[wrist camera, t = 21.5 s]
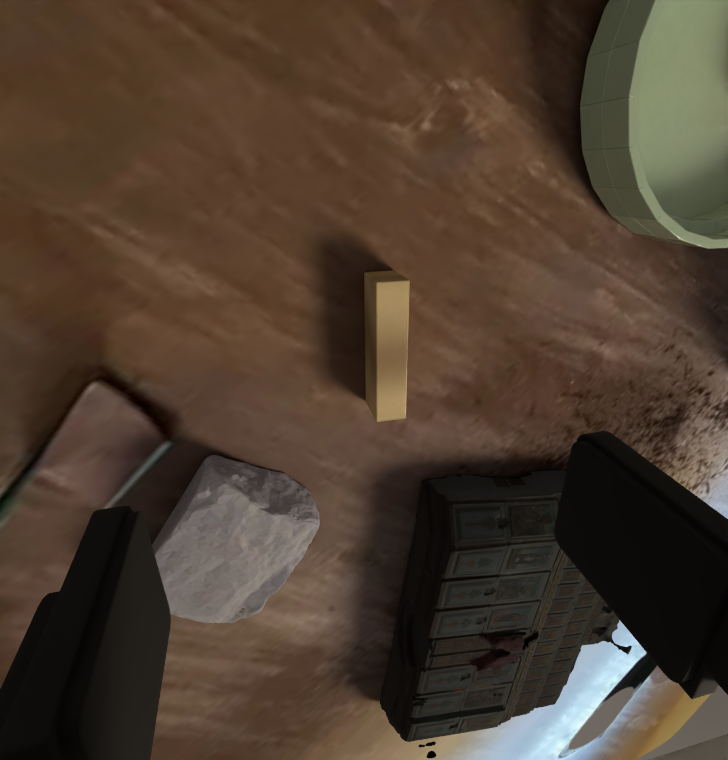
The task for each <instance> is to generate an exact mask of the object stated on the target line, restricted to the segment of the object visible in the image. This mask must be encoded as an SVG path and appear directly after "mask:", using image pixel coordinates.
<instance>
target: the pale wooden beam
mask: <svg viewBox="0 0 728 760" xmlns="http://www.w3.org/2000/svg"><path fill="white" fill-rule="evenodd" d="M409 285H410V281H409V280H408V279H407V278H405V277H404V276H402V275H401V274H399V273H398V272H396V271H394V270H393V271H376V272H365V273H364V304H365V380H366V403H367V405H368V407H369V408H370V410H371V412H372V414H373V416H374V418H375V420H376V422H380V421H388V420H396V419H403V418H406V394H407V358H408V322H409Z"/></svg>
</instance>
